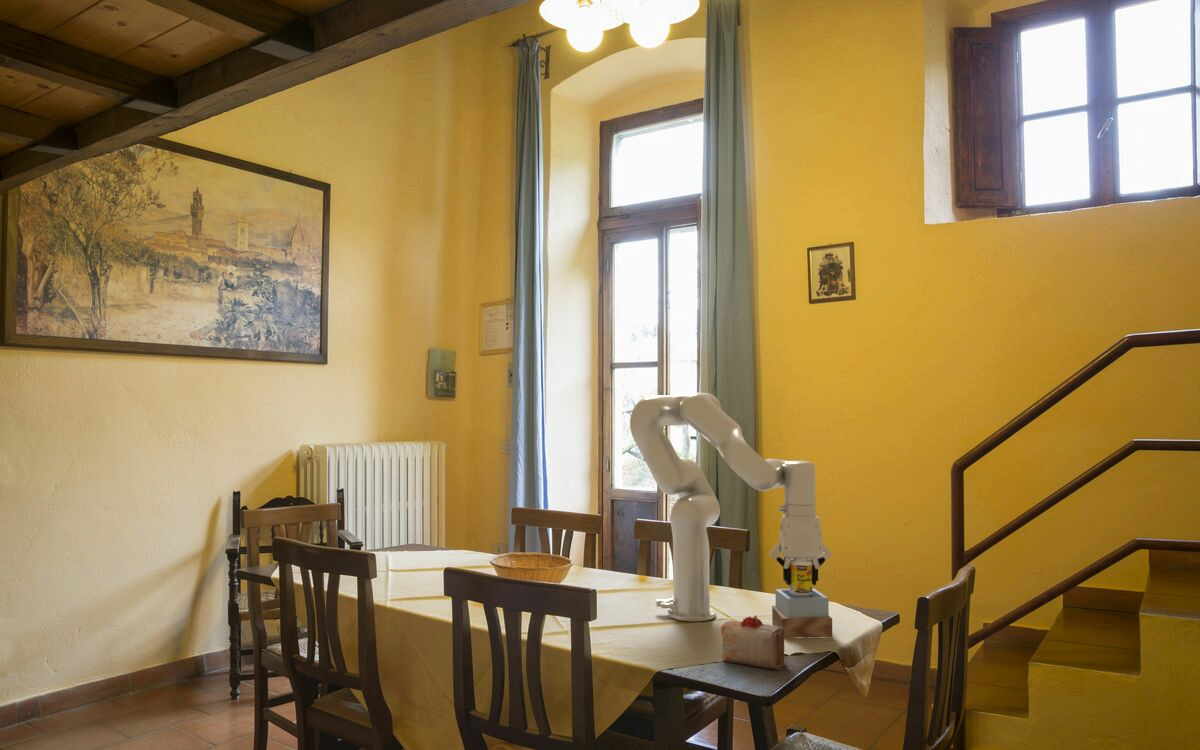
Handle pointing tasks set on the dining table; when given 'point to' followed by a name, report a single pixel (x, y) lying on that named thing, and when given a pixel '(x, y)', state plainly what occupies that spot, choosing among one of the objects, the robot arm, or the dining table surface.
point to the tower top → (802, 604)
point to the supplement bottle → (801, 576)
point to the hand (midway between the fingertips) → (800, 583)
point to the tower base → (802, 625)
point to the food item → (753, 643)
